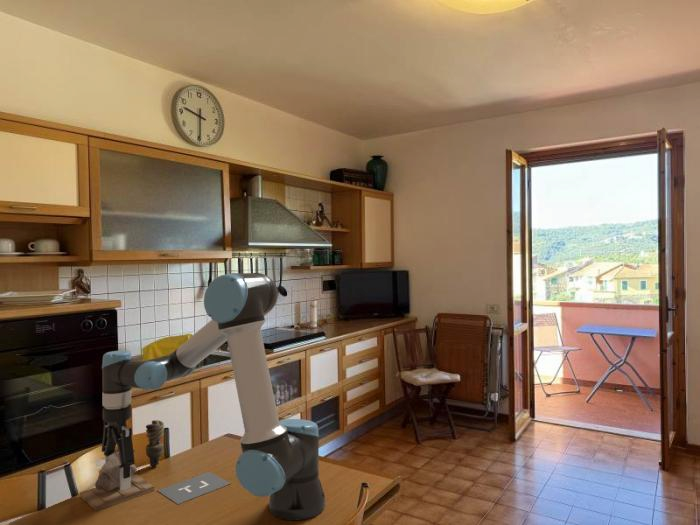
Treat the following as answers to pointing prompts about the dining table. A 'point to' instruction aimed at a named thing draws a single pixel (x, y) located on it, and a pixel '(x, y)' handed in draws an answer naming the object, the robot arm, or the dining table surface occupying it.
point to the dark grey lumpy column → (154, 441)
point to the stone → (111, 473)
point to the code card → (193, 487)
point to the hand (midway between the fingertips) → (117, 483)
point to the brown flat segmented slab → (116, 494)
